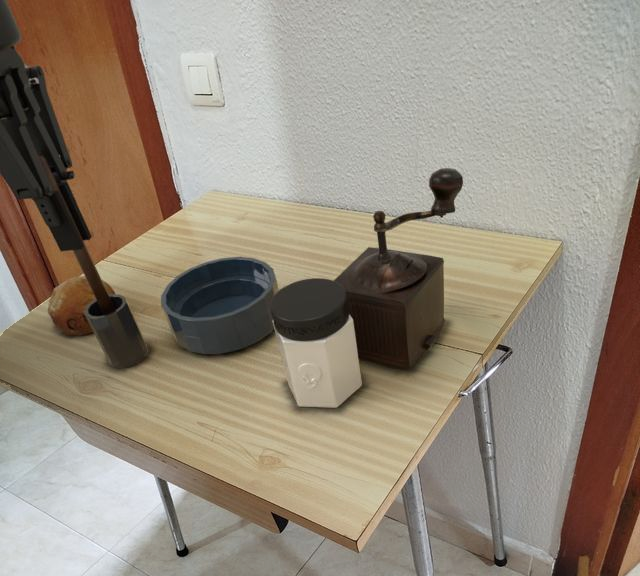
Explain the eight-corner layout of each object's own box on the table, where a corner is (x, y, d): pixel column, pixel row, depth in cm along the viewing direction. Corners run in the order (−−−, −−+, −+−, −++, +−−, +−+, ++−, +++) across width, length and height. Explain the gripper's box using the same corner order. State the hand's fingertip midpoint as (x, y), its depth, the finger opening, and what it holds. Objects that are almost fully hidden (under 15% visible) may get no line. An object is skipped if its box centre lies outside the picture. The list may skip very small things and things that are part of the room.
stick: (102, 318, 75) (24, 157, 61) (107, 310, 76) (31, 152, 62) (113, 317, 75) (38, 156, 61) (118, 310, 76) (44, 150, 62)
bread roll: (122, 315, 95) (97, 268, 92) (132, 315, 86) (104, 262, 83) (64, 341, 92) (36, 293, 89) (67, 344, 83) (36, 291, 80)
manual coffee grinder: (414, 374, 68) (406, 228, 56) (334, 353, 74) (310, 215, 61) (467, 303, 77) (471, 163, 64) (392, 288, 82) (382, 156, 70)
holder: (103, 369, 79) (77, 319, 73) (117, 344, 83) (94, 295, 77) (140, 367, 78) (117, 317, 72) (153, 342, 82) (132, 292, 76)
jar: (279, 408, 68) (256, 321, 59) (296, 363, 73) (276, 278, 65) (356, 410, 65) (342, 321, 57) (367, 364, 71) (356, 276, 63)
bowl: (161, 361, 78) (145, 324, 74) (192, 297, 89) (179, 261, 85) (273, 355, 75) (263, 316, 71) (291, 290, 86) (283, 252, 82)
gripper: (-49, 11, 47) (80, 274, 63) (34, -21, 57) (127, 212, 73) (-128, 26, 48) (18, 279, 64) (-34, -8, 58) (72, 218, 75)
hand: (76, 243), depth 69 cm, fingers closed on stick, 1 cm apart
